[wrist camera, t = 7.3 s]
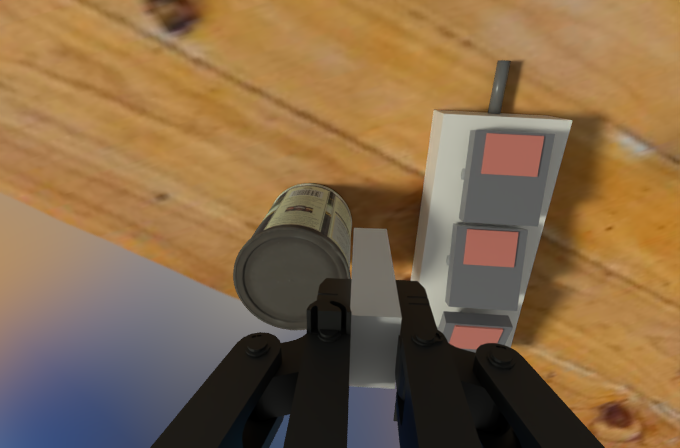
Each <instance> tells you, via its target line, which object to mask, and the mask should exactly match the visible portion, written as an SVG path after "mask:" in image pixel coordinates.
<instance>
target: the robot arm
mask: <svg viewBox="0 0 680 448" xmlns="http://www.w3.org/2000/svg"><path fill="white" fill-rule="evenodd" d="M306 315H307V334H305V335H304V336H303V337H301V338H299V339H297V340H293V341H289V342H284V343H280V340H279V339H278V338H277V337H276V336H274V335H272V334H269V333H261V332H260V333H254V334H250V335H248V336H246V337H244V338H242V339H241V340H240V341H239V342H237V344H236V345H235V346H234V347H233V348H232V350H231V351H230V352H229V353H228V355H227V356H226V357H225V358H224V359H223V360H222V362H221V363H220V364H219V365H218V367H217V368H216V369H215V370H214V371H213V373H212V374H211V375H210V376H209V377H208V379H207V380H206V381H205V382H204V384H203V385H202V386H201V387H200V388H199V390H198V391H197V392H196V393H195V394H194V396H193V397H192V398H191V399H190V400H189V402H188V403H187V404H186V405H185V406H184V408H183V409H182V410H181V411H180V412H179V414H178V415H177V416H176V417H175V419H174V420H173V421H172V422H171V423H170V424H169V426H168V427H167V428H166V429H165V431H164V432H163V433H162V434H161V435H160V437H159V438H158V439H157V440H156V442H155V443H154V444H153V445H152V446H151V448H269V447H270V445H271V442H272V441H273V439H274V437H275V434H276V433H277V431H278V429H279V427H280V425H281V423H282V421H283V418H284V415H288V414H290V418H289V423H288V427H287V433H286V437H285V442H284V448H347V427H348V398H349V386H357V387H373V388H391V389H394V388H395V380H396V387H397V393H396V403H395V413H394V421H397V422H398V432H399V442H400V448H605V447H604V446H603V445H602V444H601V443H600V442H599V441H598V440H597V439H596V437H595V436H594V435H593V434H592V433H591V432H590V431H589V430H588V429H587V427H586V426H585V425H584V424H583V423H582V422H581V421H580V420H579V419H578V417H577V416H576V415H575V414H574V413H573V412H572V411H571V410H570V409H569V408H568V406H567V405H566V404H565V403H564V402H563V401H562V400H561V399H560V398H559V396H558V395H557V394H556V393H555V392H554V391H553V390H552V389H551V388H550V386H549V385H548V384H547V383H546V382H545V381H544V380H543V379H542V378H541V377H540V375H539V374H538V373H537V372H536V371H535V370H534V369H533V368H532V367H531V365H530V364H529V363H528V362H527V361H526V360H525V359H524V358H523V357H522V356H521V355H520V354H519V353H518V352H517V351H515V350H514V349H512V348H510V347H508V346H505V345H502V344H498V343H486V344H482V345H480V346H479V347H478V348H477V349H476V353H475V352H471V351H467V350H464V349H461V348H458V347H455V346H453V345H451V344H449V343H448V341H447V339H446V337H445V335H444V334H443V333H442V332H440V331H439V330H438V329H437V326H436V323H435V320H434V316H433V313H432V310H431V307H430V303H429V300H428V297H427V293H426V290H425V288H424V287H423V286H422V285H421V284H420V283H419V282H418V281H405V280H395V275H394V269H393V263H392V257H391V251H390V245H389V240H388V234H387V229H375V228H354V236H353V258H352V279H338V278H326V279H325V280H324V281H323V282H322V283H321V284H320V285H319V290H318V295H317V301H314V302H313V303H312V304H310V305H309V306H308V308H307V310H306Z"/></svg>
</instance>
